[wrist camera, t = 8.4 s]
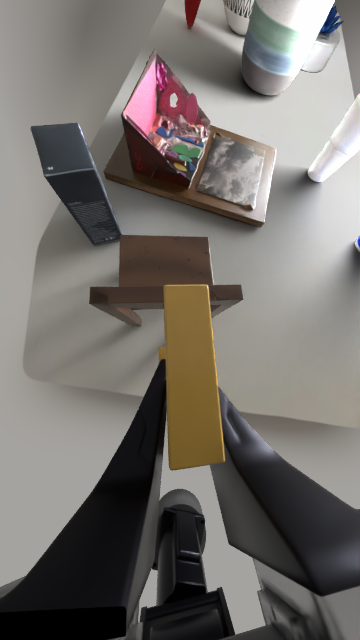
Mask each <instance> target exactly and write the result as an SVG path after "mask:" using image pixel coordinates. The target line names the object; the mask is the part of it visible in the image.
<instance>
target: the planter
mask: <svg viewBox="0 0 360 640" xmlns="http://www.w3.org/2000/svg"><path fill="white" fill-rule="evenodd" d="M223 3H224V9H225V14H226V18H227V21H228V24H229V26H230V27H231V29H232V30H233V31H234V32H235V33H237V34H240V35H246V32H247V28H248V24H249V20H250V16H251V12H252V8H253V4H254V0H223Z"/></svg>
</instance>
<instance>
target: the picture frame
mask: <svg viewBox="0 0 360 640" xmlns="http://www.w3.org/2000/svg"><path fill="white" fill-rule="evenodd" d="M173 93H176V95H177V97H178V100H177V103H176V105H177V107H175V108H173V107H172V106H171V104H170V96H171V94H173ZM121 117H122V122H123V127H124V132H125V133H124V135H123V137H122V138H121V140H120V142H119V144H118V146H117V148H116V150H115V151H114V153H113V155H112V157H111V159H110V161H109V162H108V164H107V166H106V168H105V170H104V175H105V177H106V179H109V180H112V181H115V182H119V183H122V184H125V185H128V186H131V187H134V188H138V189H141V190H144V191H148V192H150V193H154V194H157V195H160V196H163V197H166V198H169V199H173V200H176V201H179V202H183V203H185V204H189V205H192V206H195V207H198V208H201V209H205V210H208V211H211V212H214V213H217V214H220V215H224V216H227V217H230V218H233V219H236V220H240V221H243V222H246V223H249V224H252V225H255V226H259V227H262V225H263V224H264V222H265V216H266V210H267V203H268V197H269V191H270V185H271V178H272V172H273V166H274V160H275V154H276V148H273V147H271V146H268V145H265V144H262V143H260V142H257V141H254V140H251V139H248V138H246V137H243V136H240V135H237V134H234V133H232V132H229V131H226V130H223V129H220V128H217V127H215V126H212V125H210V120H209V119H208V118H207V116H206V115H205V114H204V112H203V111H202V110H201V108H200V107H199V106H198V103H197V99H196V96H195V95H194V94H193V93H191V94H189V93H188V91H187V90H186V89H185V87H184V86H183V85H182V83H181V82H180V81H179V79H178V78H177V77H176V75H175V74H174V73H173V72H172V71H171V69H170V68H169V67H168V66H167V64H166V63H165V62H164V61H163V60H162V58H161V57H160V56H159V55H158V54H157V53H156V51H155V49H154V51H153V53H152V54H151V56H150V57H149V60H148V61H147V63H146V67H145V68H144V71H143V73H142V75H141V76H140V78H139V80H138V82H137V84H136V86H135V88H134V90H133V92H132V94H131V96H130V98H129V100H128V102H127V104H126V106H125V108H124V110H123V112H122V115H121Z"/></svg>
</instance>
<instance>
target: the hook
mask: <svg viewBox="0 0 360 640" xmlns="http://www.w3.org/2000/svg"><path fill="white" fill-rule="evenodd" d="M163 290H164V323H165V347H159V348H158V350H159V363H160V360H161V359H166V389H167V421H168V455H169V468H170V470H179V469H185V468H191V467H199V466H205V465H212V464H218V463H223V462H225V453H224V443H223V433H222V423H221V412H220V402H219V392H218V382H217V372H216V361H215V351H214V341H213V331H212V320H211V310H210V300H209V290H208V285H164V287H163Z"/></svg>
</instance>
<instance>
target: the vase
mask: <svg viewBox="0 0 360 640" xmlns="http://www.w3.org/2000/svg"><path fill="white" fill-rule="evenodd" d="M333 3H334V0H254V4H253V8H252V12H251V16H250V20H249V24H248V28H247V32H246V36H245V41H244V46H243V52H242V62H241V69H242V75H243V78H244V80H245V81H246V83H247V84H248V85H249V86H250V87H251V88H252V89H253V90H255V91H257V92H259V93H261V94H264V95H276V94H280V93H281V92H283V91H284V90H286V89H287V88H288V87H289V86H290V84H291V83H292V82H293V80H294V79H295V77H296V76H297V74H298V73H299V71H300V69H301V67H302V65H303V63H304V61H305V59H306V57H307V56H308V54H309V52H310V49H311V47H312V45H313V43H314V41H315V39H316V37H317V35H318V33H319V31H320V29H321V27H322V25H323V23H324V21H325V19H326V17H327V15H328V13H329V11H330V9H331V7H332V5H333Z"/></svg>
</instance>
